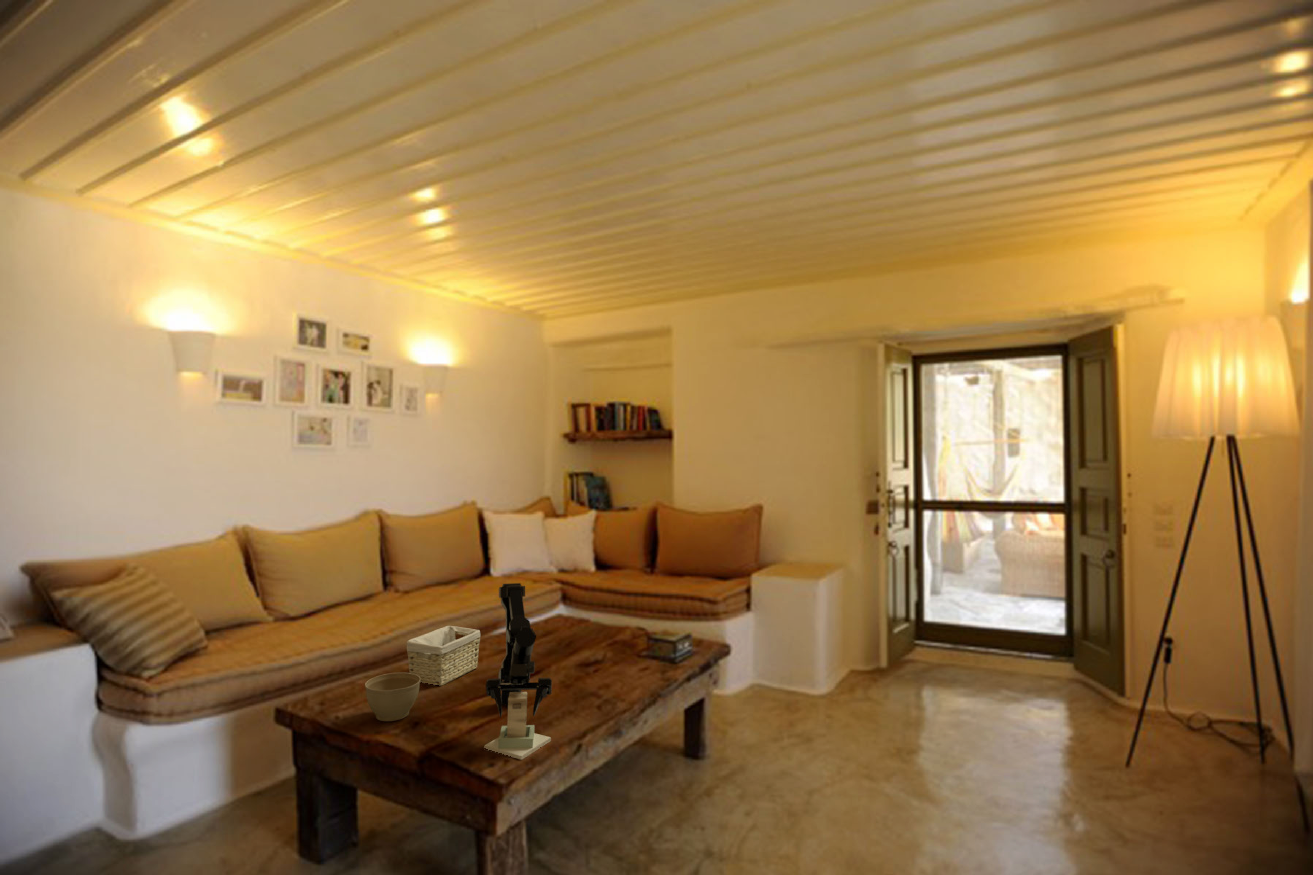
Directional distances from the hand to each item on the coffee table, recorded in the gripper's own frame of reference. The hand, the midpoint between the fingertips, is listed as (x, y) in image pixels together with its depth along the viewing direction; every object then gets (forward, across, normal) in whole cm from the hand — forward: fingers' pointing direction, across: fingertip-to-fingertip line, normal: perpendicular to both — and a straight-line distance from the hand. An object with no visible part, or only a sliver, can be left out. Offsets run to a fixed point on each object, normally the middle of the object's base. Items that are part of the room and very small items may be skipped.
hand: (517, 715), depth 192 cm
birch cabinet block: (+4, 0, +6) cm, 8 cm away
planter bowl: (-11, -40, +24) cm, 48 cm away
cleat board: (+5, 0, +7) cm, 9 cm away
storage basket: (-37, -31, +50) cm, 70 cm away
